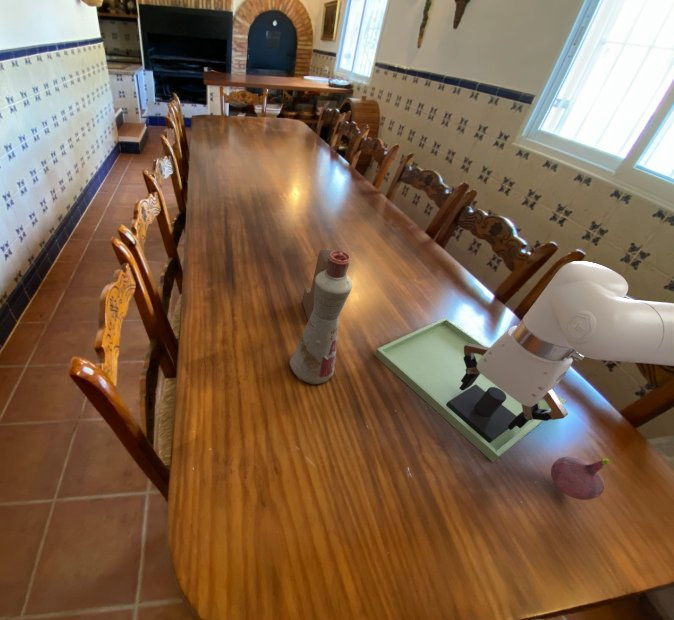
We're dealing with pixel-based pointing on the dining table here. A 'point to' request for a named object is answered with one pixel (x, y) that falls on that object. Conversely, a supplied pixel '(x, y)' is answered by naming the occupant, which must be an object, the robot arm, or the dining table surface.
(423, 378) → the pale green flat tray
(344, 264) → the bottle
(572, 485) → the vegetable
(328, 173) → the dining table surface
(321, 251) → the wooden block
